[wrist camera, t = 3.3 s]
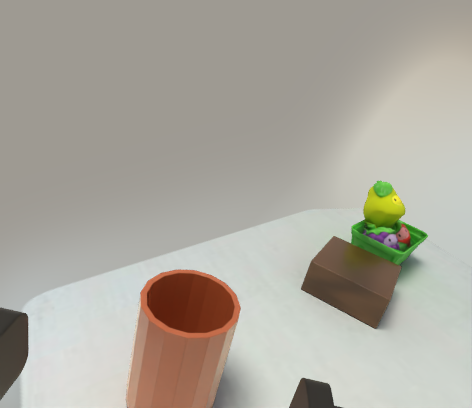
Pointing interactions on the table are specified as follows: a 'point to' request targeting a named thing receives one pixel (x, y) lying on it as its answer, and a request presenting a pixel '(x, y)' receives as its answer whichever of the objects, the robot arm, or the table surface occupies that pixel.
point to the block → (352, 280)
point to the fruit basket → (386, 226)
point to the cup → (181, 340)
